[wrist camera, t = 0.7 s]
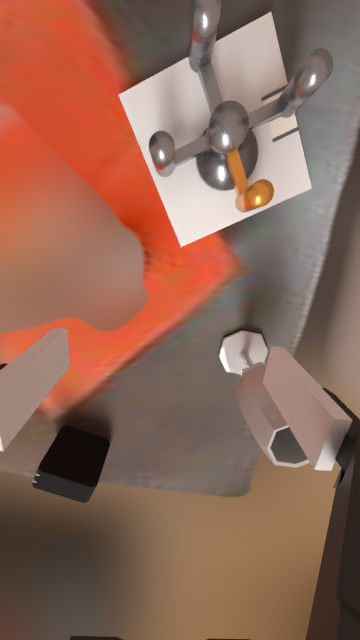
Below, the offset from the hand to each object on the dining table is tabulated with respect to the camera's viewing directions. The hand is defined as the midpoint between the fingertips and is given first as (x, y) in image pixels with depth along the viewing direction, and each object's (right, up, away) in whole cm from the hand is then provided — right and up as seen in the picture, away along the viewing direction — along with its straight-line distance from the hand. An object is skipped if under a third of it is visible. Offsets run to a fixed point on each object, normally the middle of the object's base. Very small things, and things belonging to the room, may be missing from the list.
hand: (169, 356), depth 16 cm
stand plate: (+6, +26, +18) cm, 32 cm away
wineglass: (+12, -3, +28) cm, 31 cm away
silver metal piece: (+6, +26, +16) cm, 31 cm away
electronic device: (-19, -22, +34) cm, 45 cm away
